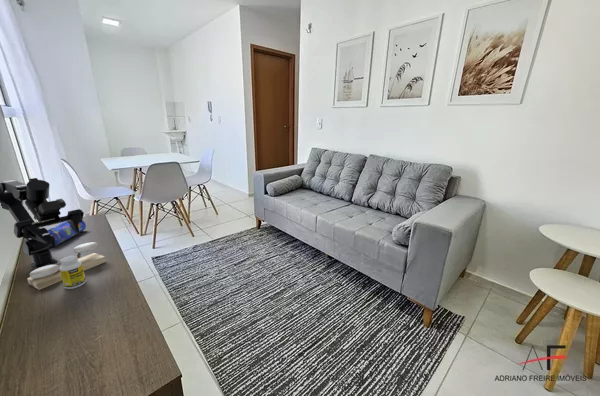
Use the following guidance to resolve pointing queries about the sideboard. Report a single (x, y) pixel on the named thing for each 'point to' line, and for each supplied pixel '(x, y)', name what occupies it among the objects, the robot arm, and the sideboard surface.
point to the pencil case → (64, 231)
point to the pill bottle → (72, 272)
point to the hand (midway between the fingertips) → (63, 238)
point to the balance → (52, 273)
